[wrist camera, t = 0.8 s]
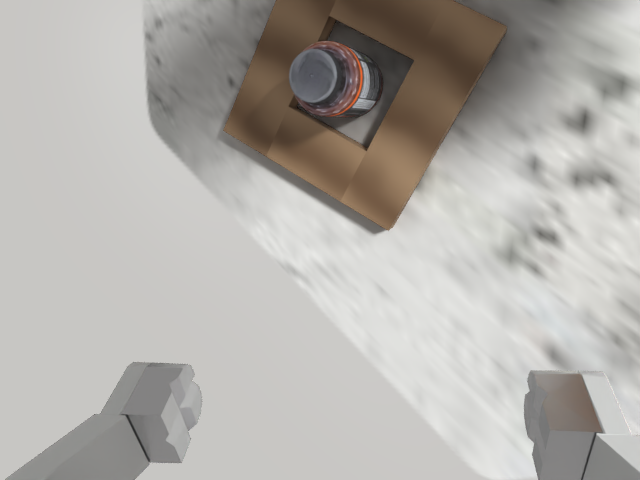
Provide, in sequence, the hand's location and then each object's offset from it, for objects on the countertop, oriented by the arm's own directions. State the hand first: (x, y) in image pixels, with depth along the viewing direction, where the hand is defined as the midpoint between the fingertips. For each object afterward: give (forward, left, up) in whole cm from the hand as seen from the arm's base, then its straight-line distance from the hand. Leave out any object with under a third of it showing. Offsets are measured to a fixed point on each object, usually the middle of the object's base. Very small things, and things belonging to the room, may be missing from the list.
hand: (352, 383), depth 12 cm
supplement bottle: (-3, -15, -38) cm, 41 cm away
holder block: (-3, -15, -38) cm, 41 cm away
